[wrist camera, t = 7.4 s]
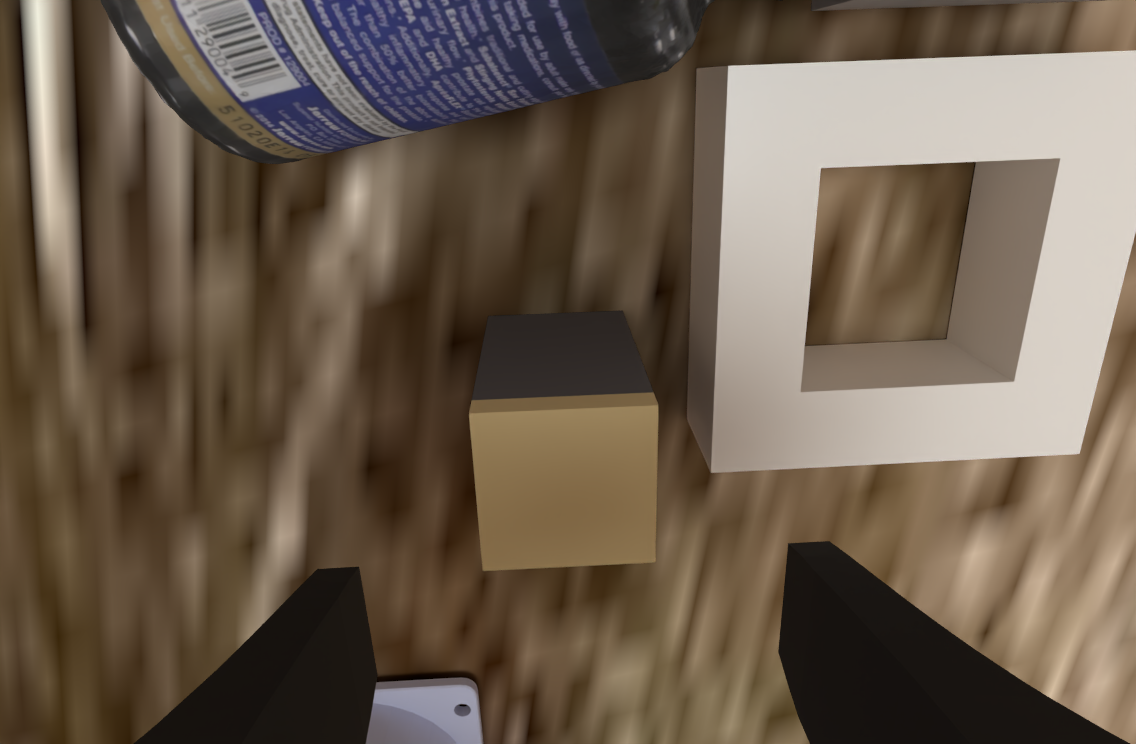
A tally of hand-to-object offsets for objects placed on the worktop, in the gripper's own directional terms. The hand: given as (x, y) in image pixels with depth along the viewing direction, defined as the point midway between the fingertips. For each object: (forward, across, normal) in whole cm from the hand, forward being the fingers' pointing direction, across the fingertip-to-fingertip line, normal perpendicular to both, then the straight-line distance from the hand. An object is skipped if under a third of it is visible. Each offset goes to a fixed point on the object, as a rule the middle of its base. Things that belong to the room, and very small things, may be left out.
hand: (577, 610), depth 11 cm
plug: (+10, 0, 0) cm, 10 cm away
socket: (+9, -8, -3) cm, 13 cm away
